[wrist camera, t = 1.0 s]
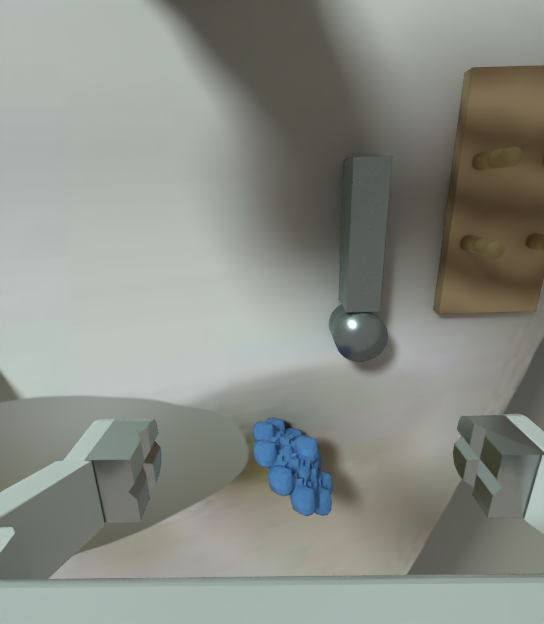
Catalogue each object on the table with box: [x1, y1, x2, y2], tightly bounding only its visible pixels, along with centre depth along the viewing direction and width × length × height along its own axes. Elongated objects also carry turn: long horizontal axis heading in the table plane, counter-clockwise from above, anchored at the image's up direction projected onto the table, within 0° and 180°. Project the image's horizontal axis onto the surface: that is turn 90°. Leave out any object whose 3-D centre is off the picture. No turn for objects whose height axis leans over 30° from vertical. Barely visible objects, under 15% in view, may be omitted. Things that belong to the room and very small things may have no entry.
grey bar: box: [329, 156, 392, 362], centre depth 38 cm, size 21×6×4 cm, turn 1°
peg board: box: [433, 66, 544, 314], centre depth 35 cm, size 24×11×6 cm, turn 1°
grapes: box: [253, 418, 333, 516], centre depth 41 cm, size 12×7×12 cm, turn 52°
